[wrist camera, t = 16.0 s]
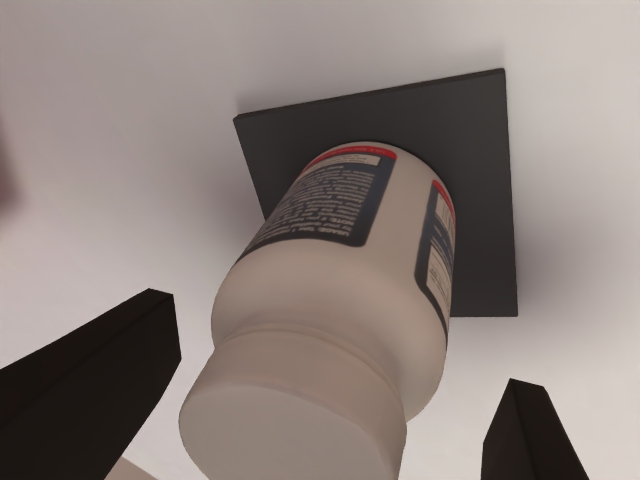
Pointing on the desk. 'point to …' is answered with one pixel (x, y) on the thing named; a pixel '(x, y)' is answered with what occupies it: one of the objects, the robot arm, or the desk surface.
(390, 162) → the pill bottle
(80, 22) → the desk surface
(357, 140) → the coaster
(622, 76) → the desk surface
